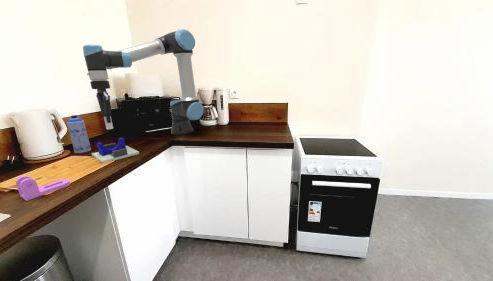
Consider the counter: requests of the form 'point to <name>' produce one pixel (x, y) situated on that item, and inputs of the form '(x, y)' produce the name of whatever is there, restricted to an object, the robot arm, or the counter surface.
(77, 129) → the aerosol can
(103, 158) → the board
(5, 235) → the counter surface
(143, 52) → the robot arm
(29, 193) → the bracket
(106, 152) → the cable clip
